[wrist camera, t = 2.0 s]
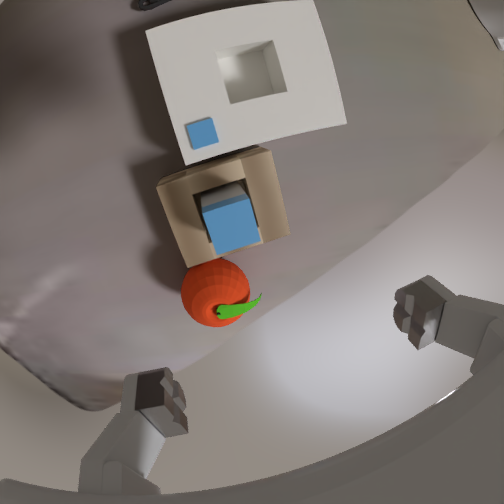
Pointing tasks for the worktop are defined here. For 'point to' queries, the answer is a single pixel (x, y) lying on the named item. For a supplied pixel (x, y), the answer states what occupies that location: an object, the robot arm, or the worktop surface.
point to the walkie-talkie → (154, 1)
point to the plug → (229, 217)
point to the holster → (212, 175)
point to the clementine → (216, 293)
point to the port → (245, 76)
